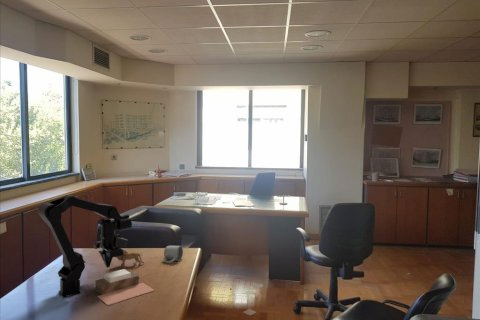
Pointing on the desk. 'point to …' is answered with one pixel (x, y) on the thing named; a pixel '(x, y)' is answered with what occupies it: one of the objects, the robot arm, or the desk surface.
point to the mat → (125, 293)
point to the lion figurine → (130, 257)
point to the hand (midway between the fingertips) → (107, 267)
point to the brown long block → (116, 284)
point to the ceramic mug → (173, 253)
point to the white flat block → (117, 275)
